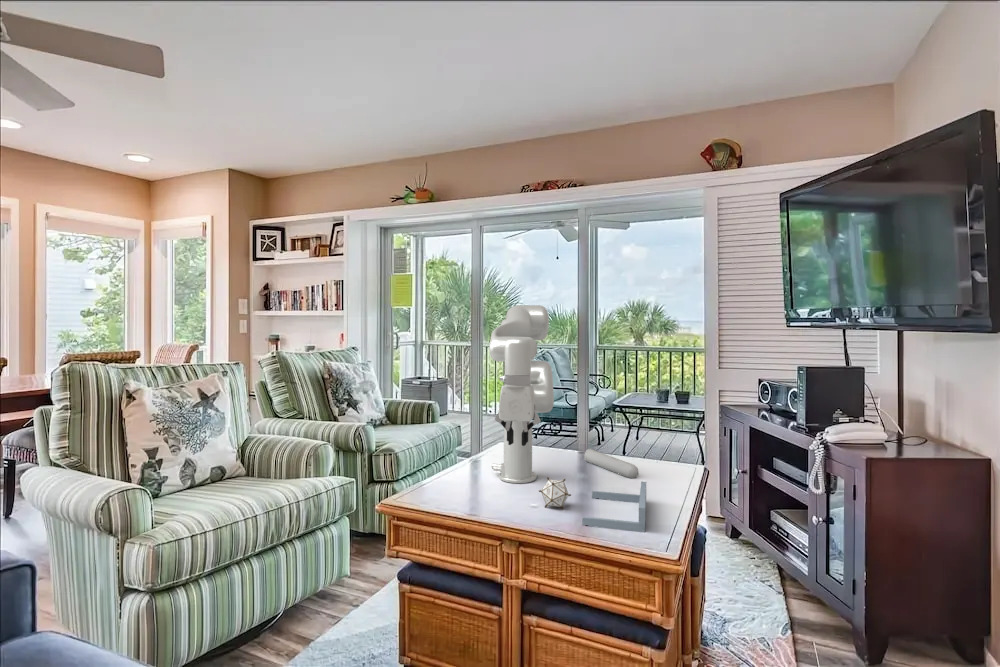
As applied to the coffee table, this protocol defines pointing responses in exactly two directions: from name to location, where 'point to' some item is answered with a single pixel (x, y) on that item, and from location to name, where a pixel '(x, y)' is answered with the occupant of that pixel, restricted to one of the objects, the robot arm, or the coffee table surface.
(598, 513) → the coffee table surface
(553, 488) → the game die
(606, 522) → the tray
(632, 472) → the tube
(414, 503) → the coffee table surface
